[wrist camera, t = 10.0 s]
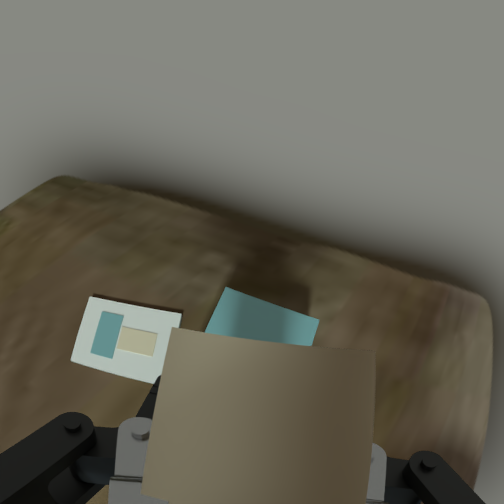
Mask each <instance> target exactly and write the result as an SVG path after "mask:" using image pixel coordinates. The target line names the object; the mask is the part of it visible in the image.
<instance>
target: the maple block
mask: <svg viewBox="0 0 504 504" xmlns="http://www.w3.org/2000/svg"><path fill="white" fill-rule="evenodd" d="M375 374H376V353H375V351H373V350H355V349H340V348H327V347H316V346H305V345H295V344H285V343H276V342H268V341H260V340H252V339H245V338H237V337H230V336H224V335H217V334H211V333H204V332H198V331H192V330H187V329H181V328H175V327H172V329H171V333H170V337H169V342H168V346H167V351H166V355H165V360H164V365H163V369H162V374H161V379H160V384H159V389H158V394H157V399H156V404H155V409H154V414H153V420H152V425H151V431H150V436H149V442H148V448H147V454H146V460H145V467H144V473H143V480H142V487H141V494H143V495H146V496H150V497H154V498H158V499H162V500H166V501H168V502H169V504H366V497H367V490H368V482H369V474H370V464H371V454H372V443H373V429H374V410H375Z"/></svg>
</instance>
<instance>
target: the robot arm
mask: <svg viewBox="0 0 504 504" xmlns="http://www.w3.org/2000/svg"><path fill="white" fill-rule="evenodd" d="M160 379H161V375H160V376H158V377H157V379H156V381H155V383H154V384H153V387H152V388H151V390H150V392H149V393H148V395H147V397H146V399H145V401H144V402H143V404H142V406H141V408H140V410H139V411H138V413H137V415H136V417H134V418H130V419H127V420H125V421H124V422H123V423H121V425H120V426H119V427H117V428H106V427H94V425H93V422H92V421H91V419H90V418H89V417H87V416H86V415H84V414H81V413H78V412H67V413H64V414H61V415H59V416H58V417H56V418H55V419H53V420H52V421H50V422H49V423H47V424H46V425H44V426H43V427H41V428H40V429H38V430H37V431H35V432H34V433H32V434H31V435H29V436H27V437H26V438H24V439H23V440H21V441H20V442H18V443H17V444H15V445H14V446H12V447H10V448H9V449H7V450H6V451H4V452H3V453H1V454H0V504H86V503H87V502H88V501H89V500H90V499H91V498H92V497H93V496H94V495H95V494H96V493H97V492H98V491H100V490H101V489H102V488H103V487H104V486H105V485H109V500H108V504H169V502H168V501H166V500H162V499H158V498H154V497H150V496H146V495H143V494H141V487H142V480H143V473H144V467H145V460H146V454H147V448H148V442H149V436H150V431H151V425H152V420H153V414H154V409H155V404H156V399H157V394H158V389H159V384H160ZM421 502H423V503H424V504H485V503H484V502H483V501H482V500H481V499H480V498H479V496H478V495H477V494H476V493H475V492H474V491H473V490H472V489H471V488H470V487H469V486H468V485H467V484H466V483H465V482H464V481H463V480H462V479H461V478H460V476H459V475H458V474H457V473H456V472H455V471H454V470H453V469H452V468H451V467H450V466H449V465H448V464H447V463H446V462H445V461H444V460H443V459H442V458H441V457H440V456H439V455H438V454H436V453H433V452H430V451H419V452H417V453H415V454H413V455H412V456H411V458H410V460H402V459H395V458H390V457H387V456H386V453H385V451H384V450H383V449H382V448H381V447H380V446H378V445H376V444H374V443H372V454H371V464H370V474H369V482H368V490H367V497H366V504H420V503H421Z"/></svg>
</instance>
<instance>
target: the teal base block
mask: <svg viewBox="0 0 504 504" xmlns="http://www.w3.org/2000/svg"><path fill="white" fill-rule="evenodd" d="M318 323H319V320H318V319H315V318H312V317H309V316H306V315H303V314H300V313H298V312H295V311H292V310H289V309H286V308H283V307H280V306H277V305H275V304H272V303H269V302H266V301H263V300H261V299H258V298H255V297H252V296H249V295H247V294H244V293H241V292H238V291H236V290H233V289H230V288H228V287H225V290H224V292H223V294H222V296H221V298H220V300H219V302H218V305H217V307H216V309H215V311H214V313H213V315H212V317H211V319H210V322H209V324H208V326H207V328H206V330H205V332H204V333H211V334H217V335H224V336H230V337H237V338H245V339H252V340H260V341H268V342H276V343H285V344H295V345H305V346H311V345H312V342H313V339H314V336H315V333H316V329H317V326H318Z"/></svg>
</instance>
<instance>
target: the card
mask: <svg viewBox="0 0 504 504" xmlns="http://www.w3.org/2000/svg"><path fill="white" fill-rule="evenodd" d="M181 320H182V314H180V313H174V312H168V311H162V310H157V309H151V308H145V307H140V306H135V305H130V304H125V303H119V302H115V301H110V300H105V299H100V298H95V297H91V296H90V298H89V301H88V304H87V307H86V310H85V313H84V316H83V319H82V322H81V326H80V329H79V332H78V336H77V339H76V342H75V346H74V350H73V353H72V357H71V361H73V362H75V363H79V364H82V365H85V366H88V367H91V368H95V369H98V370H102V371H105V372H109V373H112V374H116V375H120V376H123V377H127V378H131V379H135V380H139V381H143V382H148V383H152V384H154V383H155V381H156V379H157V377H158V376H160V375H161V374H162V369H163V365H164V360H165V355H166V351H167V346H168V342H169V337H170V333H171V329H172V327H175V328H180V324H181Z"/></svg>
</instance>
